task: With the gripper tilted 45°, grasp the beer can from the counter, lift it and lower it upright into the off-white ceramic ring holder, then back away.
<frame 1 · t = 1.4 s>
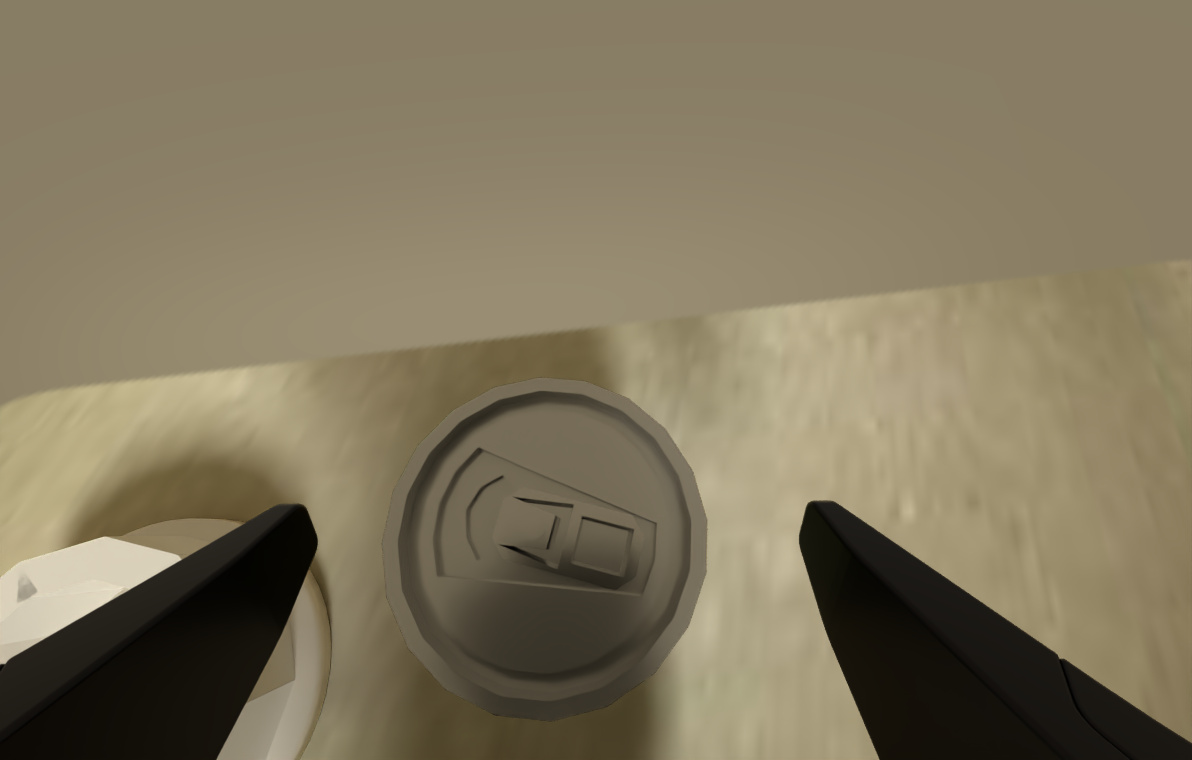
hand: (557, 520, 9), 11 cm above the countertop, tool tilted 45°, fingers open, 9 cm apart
beer can: (578, 532, 19), on the countertop
can holder: (177, 677, 17), on the countertop
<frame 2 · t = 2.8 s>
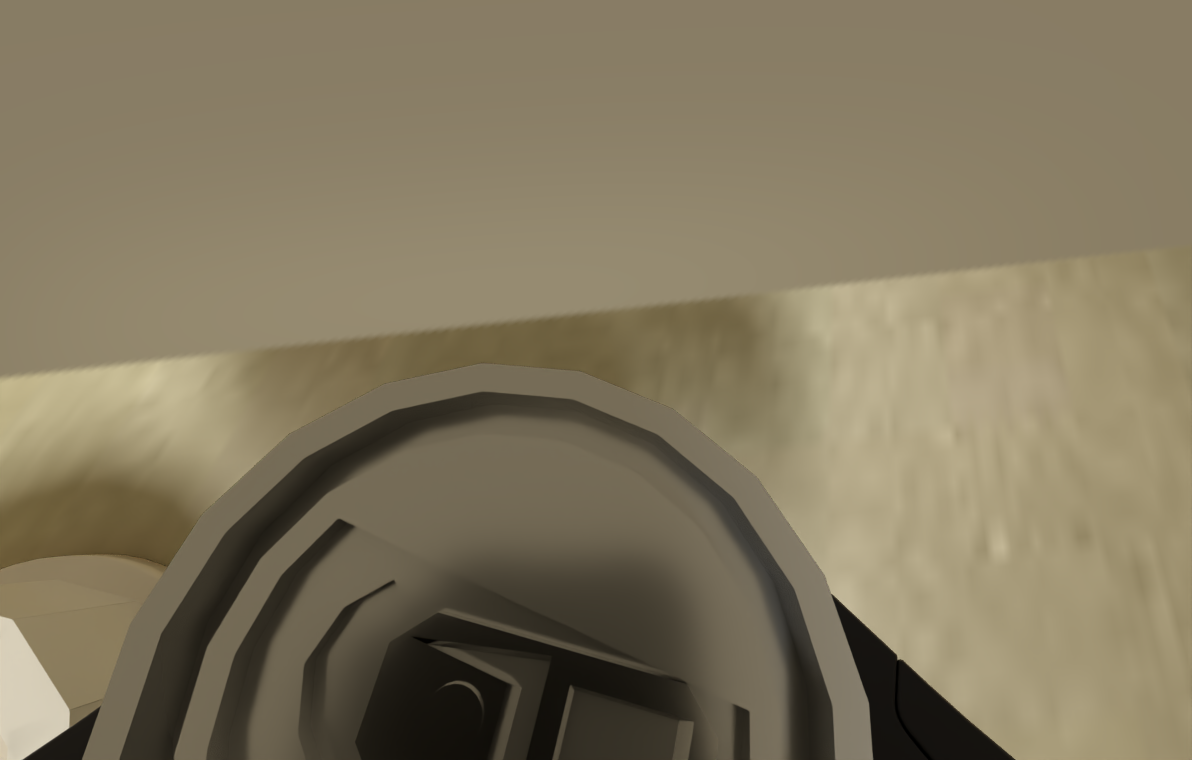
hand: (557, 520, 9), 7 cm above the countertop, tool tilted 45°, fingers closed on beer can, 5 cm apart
beer can: (574, 572, 15), on the countertop, touching gripper
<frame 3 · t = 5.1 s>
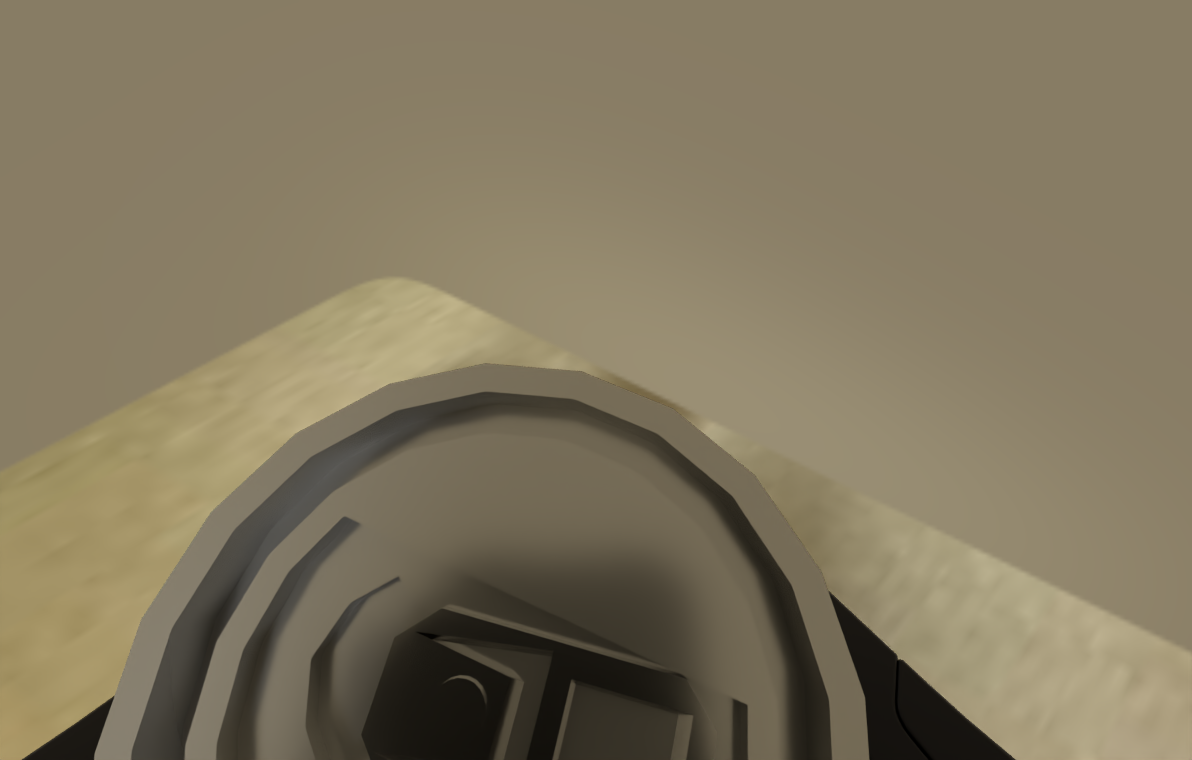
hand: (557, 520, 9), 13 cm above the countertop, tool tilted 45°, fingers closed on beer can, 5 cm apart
beer can: (576, 571, 15), point 7 cm above the countertop, touching gripper
when the fingers open (9 cm above the countertop, at t = 7.2 s): beer can drops 1 cm, resting on can holder.
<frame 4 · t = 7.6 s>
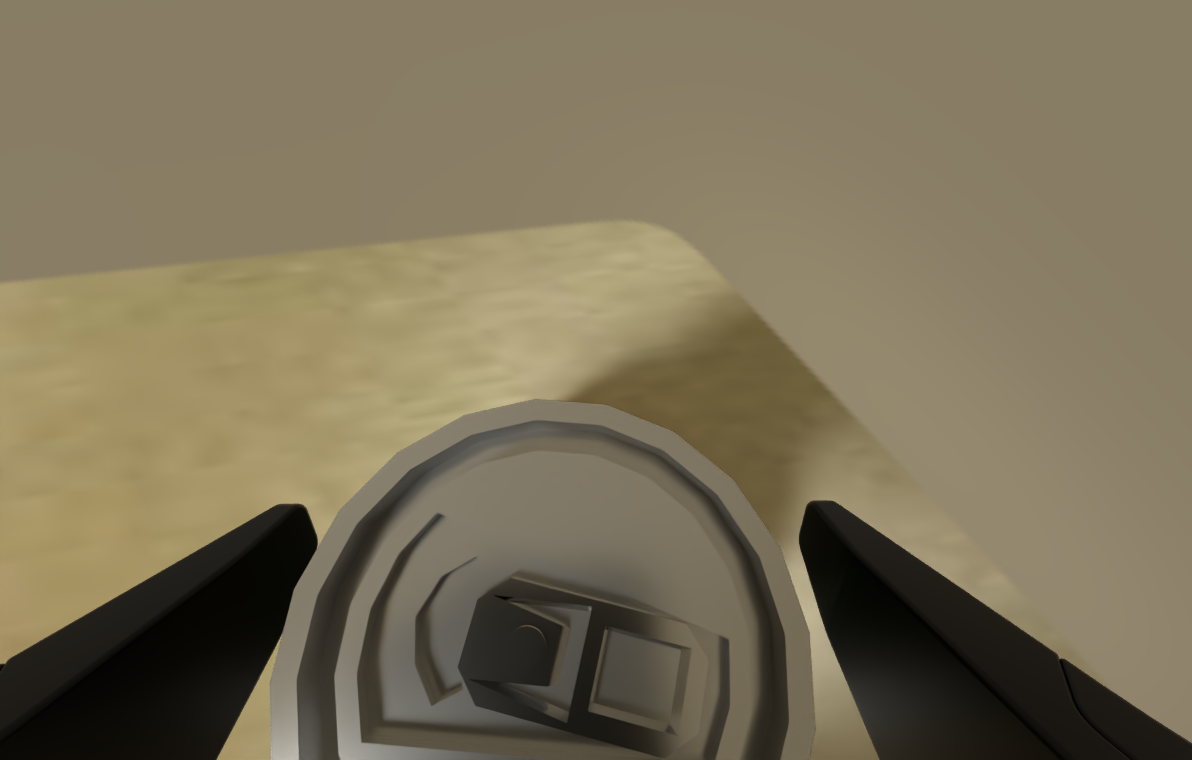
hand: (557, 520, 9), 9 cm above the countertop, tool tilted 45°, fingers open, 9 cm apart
beer can: (576, 573, 16), point 1 cm above the countertop, touching can holder
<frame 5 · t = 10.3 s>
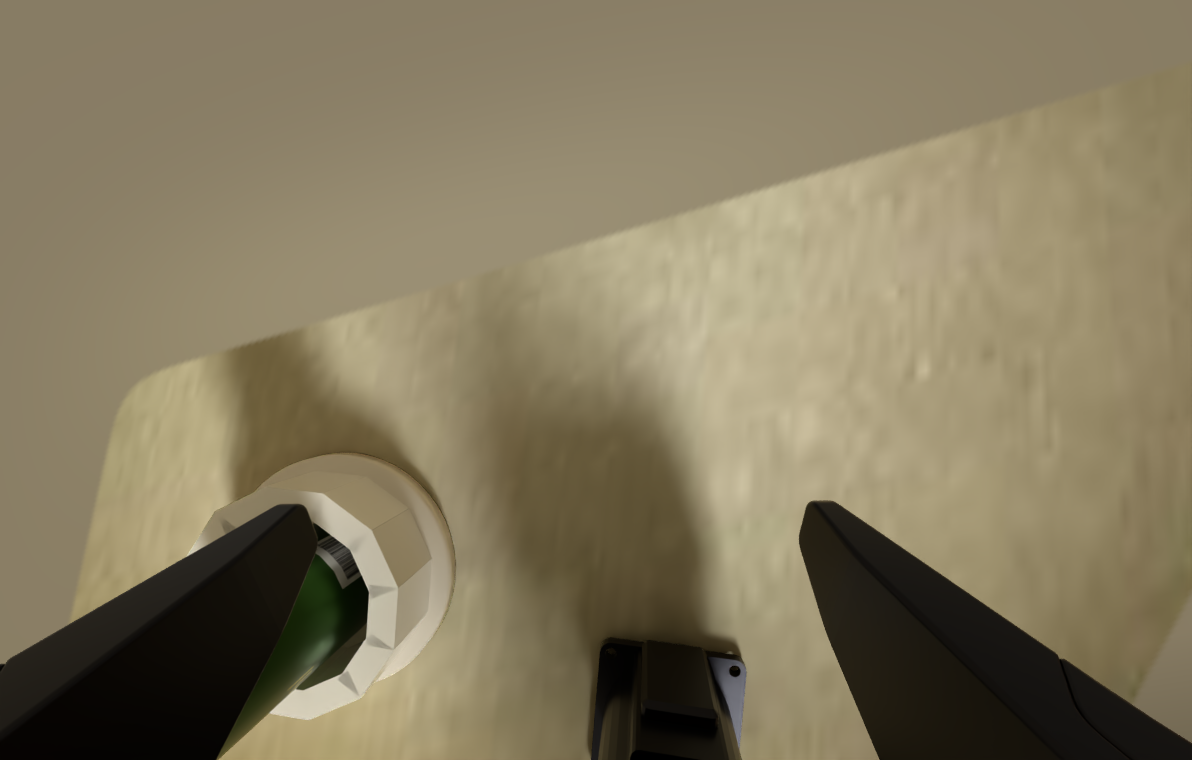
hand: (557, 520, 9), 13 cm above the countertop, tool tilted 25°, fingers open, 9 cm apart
beer can: (340, 571, 23), point 1 cm above the countertop, touching can holder
can holder: (348, 563, 23), on the countertop
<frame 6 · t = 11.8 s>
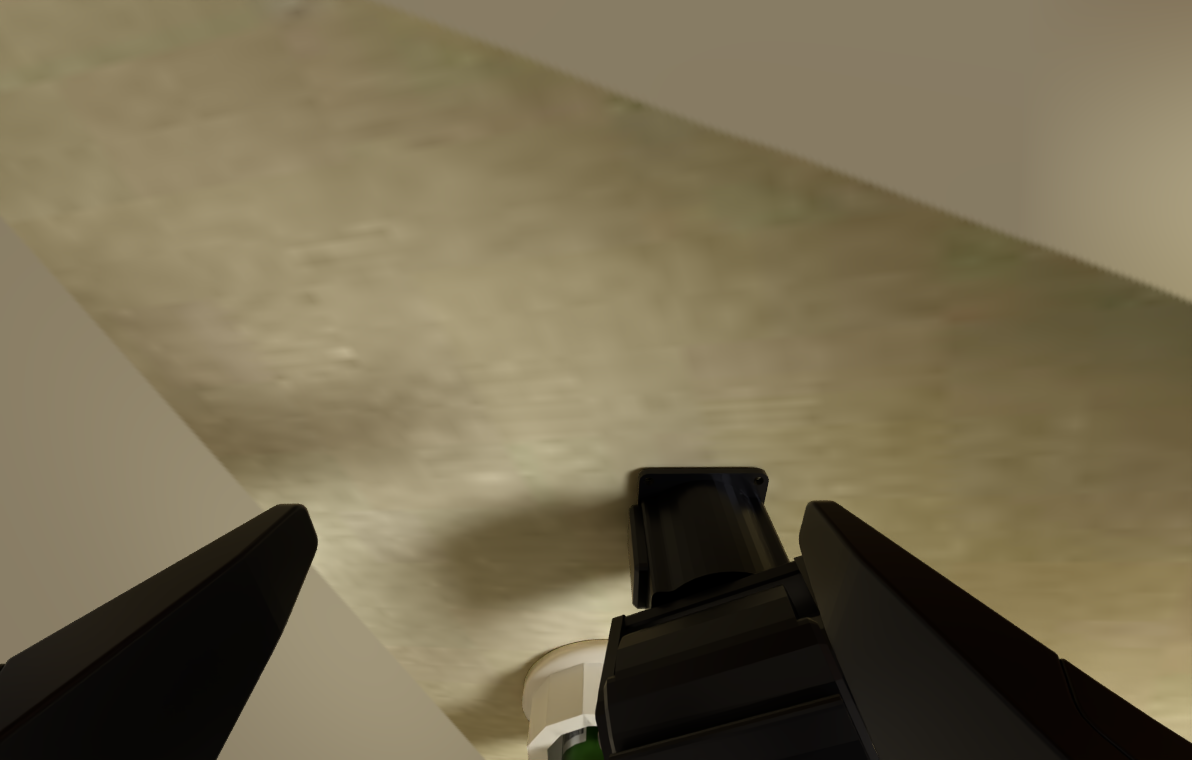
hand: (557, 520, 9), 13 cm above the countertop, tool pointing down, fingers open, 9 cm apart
beer can: (604, 701, 32), point 1 cm above the countertop, touching can holder
can holder: (603, 690, 33), on the countertop
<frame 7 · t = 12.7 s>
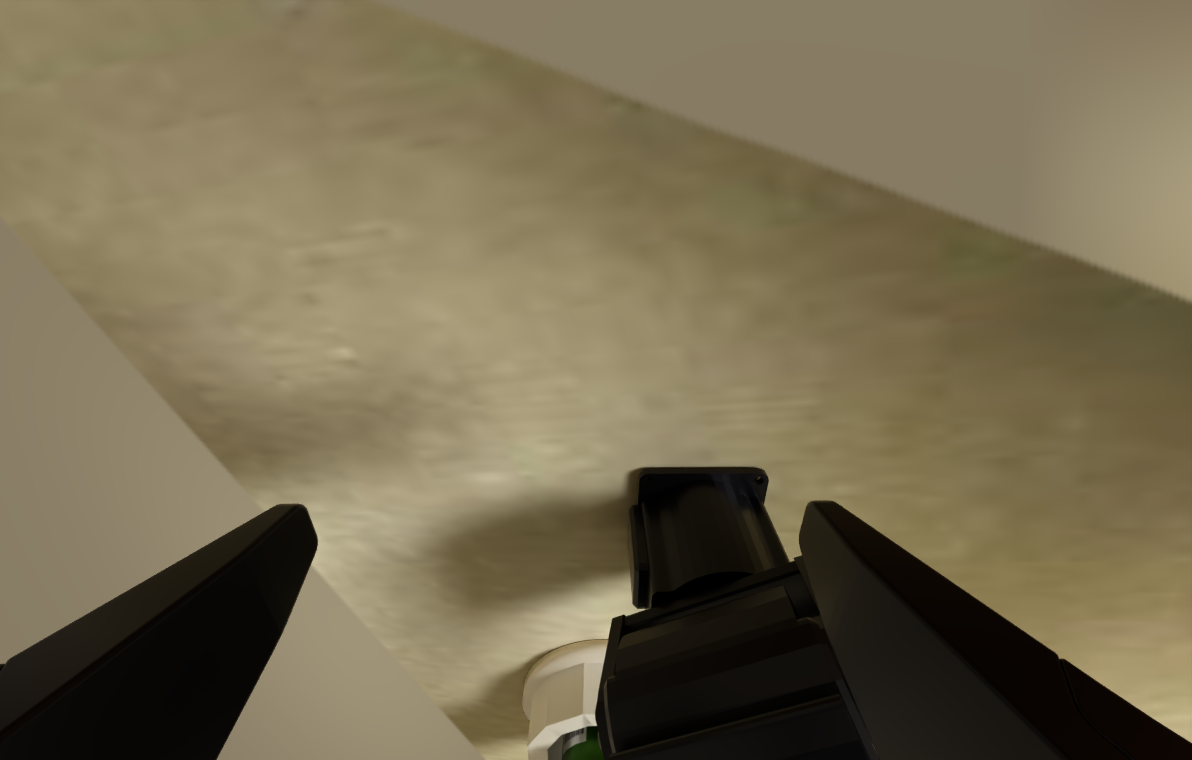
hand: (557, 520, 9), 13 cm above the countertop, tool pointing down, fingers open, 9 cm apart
beer can: (604, 701, 32), point 1 cm above the countertop, touching can holder
can holder: (603, 690, 33), on the countertop
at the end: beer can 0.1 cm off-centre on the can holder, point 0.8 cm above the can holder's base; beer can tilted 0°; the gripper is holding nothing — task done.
